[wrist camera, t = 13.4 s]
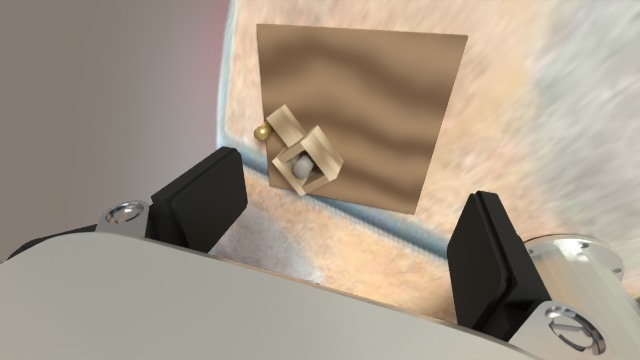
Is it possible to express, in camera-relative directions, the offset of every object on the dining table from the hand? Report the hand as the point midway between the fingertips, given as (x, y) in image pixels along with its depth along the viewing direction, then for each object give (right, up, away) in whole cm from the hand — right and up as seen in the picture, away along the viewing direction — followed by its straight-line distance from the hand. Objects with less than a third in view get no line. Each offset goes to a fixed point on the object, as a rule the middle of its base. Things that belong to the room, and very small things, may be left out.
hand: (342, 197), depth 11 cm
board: (+2, +8, +23) cm, 24 cm away
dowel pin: (-8, +8, +25) cm, 27 cm away
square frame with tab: (-3, +6, +24) cm, 25 cm away
